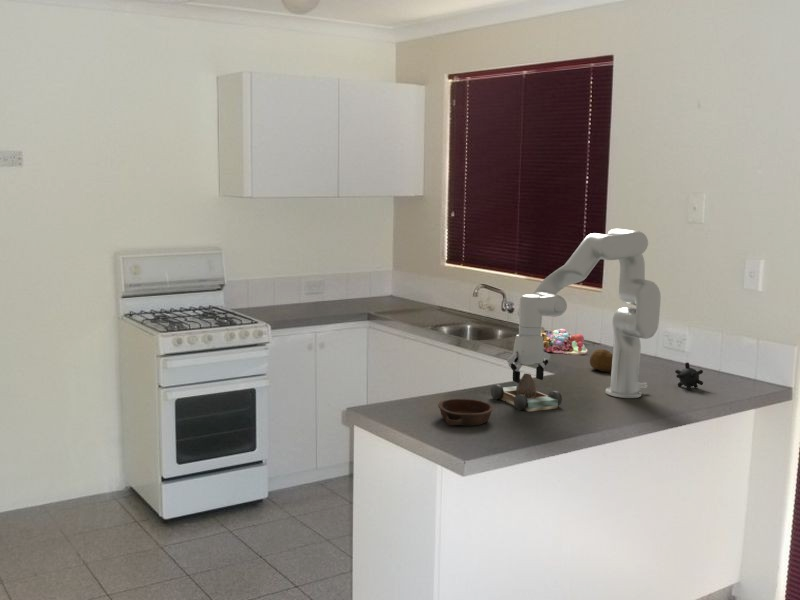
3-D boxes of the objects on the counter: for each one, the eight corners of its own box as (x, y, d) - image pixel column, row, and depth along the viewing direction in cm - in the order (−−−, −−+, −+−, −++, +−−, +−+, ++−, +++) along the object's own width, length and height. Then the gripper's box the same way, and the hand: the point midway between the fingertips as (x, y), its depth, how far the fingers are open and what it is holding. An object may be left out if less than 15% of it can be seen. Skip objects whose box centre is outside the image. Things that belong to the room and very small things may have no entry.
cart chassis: (527, 393, 310) (528, 379, 309) (562, 407, 292) (563, 393, 291) (489, 397, 302) (490, 383, 302) (523, 412, 285) (524, 397, 284)
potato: (611, 375, 343) (613, 353, 342) (584, 370, 351) (586, 348, 349) (621, 372, 349) (623, 351, 348) (594, 367, 357) (596, 346, 356)
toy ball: (694, 386, 317) (667, 373, 324) (696, 400, 325) (669, 387, 332) (709, 366, 320) (681, 353, 327) (710, 381, 328) (683, 368, 335)
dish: (423, 423, 268) (424, 408, 267) (456, 408, 287) (456, 393, 286) (475, 434, 260) (475, 418, 259) (504, 417, 278) (505, 402, 278)
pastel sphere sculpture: (533, 353, 381) (535, 332, 380) (528, 343, 404) (529, 323, 403) (591, 356, 380) (592, 335, 379) (582, 345, 403) (584, 326, 402)
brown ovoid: (520, 395, 302) (521, 370, 301) (539, 398, 298) (540, 373, 297) (512, 399, 296) (513, 374, 295) (531, 403, 293) (532, 377, 291)
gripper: (544, 327, 301) (541, 375, 304) (502, 331, 293) (500, 380, 296) (557, 331, 294) (555, 380, 297) (515, 335, 286) (513, 385, 289)
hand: (527, 380), depth 296 cm, fingers open, 9 cm apart
